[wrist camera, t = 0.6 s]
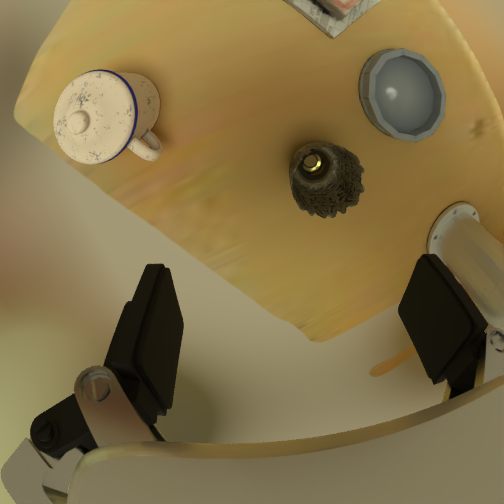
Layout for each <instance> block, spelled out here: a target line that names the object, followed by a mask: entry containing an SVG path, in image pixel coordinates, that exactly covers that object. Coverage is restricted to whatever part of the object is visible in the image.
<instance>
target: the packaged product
mask: <svg viewBox="0 0 504 504" xmlns="http://www.w3.org/2000/svg"><path fill="white" fill-rule="evenodd" d="M283 1H284V2H286V3H287V4H289V5H290V6H291V7H293V8H294V9H295V10H297V11H298V12H299V13H301V14H302V15H303V16H304V17H306V18H307V19H308V20H310V21H311V22H312V23H313V24H315V25H316V26H317V27H318V28H320V29H321V30H322V31H323V32H324V33H325V34H327V35H328V36H329V37H331V38H335V37H336V36H338V35H339V34H340V33H341V32H343V31H344V30H345V29H346V28H347V27H348V26H349V25H351V24H352V23H353V22H354V21H356V20H357V19H358V18H360V17H361V16H362V15H363V14H365V13H366V12H367V11H368V10H370V9H371V8H372V7H373V6H374V5H376V4H377V3H378V2H379V1H381V0H283Z"/></svg>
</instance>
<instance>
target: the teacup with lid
mask: <svg viewBox="0 0 504 504" xmlns="http://www.w3.org/2000/svg"><path fill="white" fill-rule="evenodd" d="M159 111H160V98H159V94H158V91H157V89H156V87H155V86H154V84H153V83H152V82H151V81H150V80H149V79H148V78H146V77H144V76H142V75H140V74H136V73H123V72H112V71H109V70H93V71H89V72H86V73H84V74H82V75H80V76H78V77H77V78H76V79H74V80H73V81H72V82H71V83H70V84H69V85H68V86H67V87H66V88H65V89H64V91H63V92H62V94H61V96H60V98H59V100H58V102H57V105H56V108H55V113H54V131H55V135H56V138H57V141H58V143H59V145H60V147H61V148H62V150H63V151H64V152H65V153H66V154H67V155H68V156H69V157H71V158H72V159H74V160H76V161H78V162H80V163H84V164H101V163H105V162H107V161H110V160H111V159H113V158H115V157H116V156H118V155H119V154H120V153H121V152H122V151H123V150H124V149H125V148H126V147H128V148H129V149H130V150H131V151H132V152H134V153H135V154H136V155H138V156H139V157H141V158H143V159H145V160H148V161H155V160H156V159H158V157H159V156H160V155H161V154H162V145H161V143H160V141H159V139H158V138H157V137H156V136H155V135H154V134H153V133H152V132H151V131H150V130H151V128H152V127H153V126H154V124H155V122H156V120H157V118H158V115H159ZM140 138H142V139H143V140H144V141H145V142H146V143H147V144H148V145H149V146H150V148H149V147H147V146H146V145H145V144H143V143H142V142H141V141H140V140H139V139H140Z"/></svg>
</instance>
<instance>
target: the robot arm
mask: <svg viewBox="0 0 504 504" xmlns="http://www.w3.org/2000/svg"><path fill="white" fill-rule="evenodd" d="M427 251H428V254H423V255H422V256H421V257H420V258H419V259H418V261H417V263H416V266H415V268H414V271H413V274H412V276H411V279H410V281H409V284H408V286H407V288H406V291H405V293H404V295H403V298H402V300H401V302H400V304H399V307H398V313H399V316H400V318H401V320H402V322H403V324H404V326H405V328H406V330H407V332H408V334H409V336H410V338H411V340H412V342H413V344H414V346H415V348H416V351H417V353H418V355H419V357H420V359H421V361H422V363H423V366H424V368H425V371H426V373H427V375H428V377H429V378H431V379H432V382H433V384H434V385H435V384H437V383H440V382H442V381H444V380H445V379H447V381H448V382H447V386H446V390H445V394H444V398H443V401H442V403H440V404H438V405H435V406H432V407H430V408H427V409H424V410H421V411H419V412H416V413H413V414H410V415H407V416H404V417H401V418H397V419H394V420H391V421H388V422H384V423H380V424H377V425H373V426H369V427H364V428H360V429H356V430H351V431H347V432H342V433H336V434H331V435H325V436H319V437H313V438H305V439H297V440H288V441H277V442H263V443H238V444H208V443H181V442H167V441H166V440H165V438H164V437H163V436H162V434H161V433H160V431H159V430H158V429H157V427H156V426H155V425H154V424H155V423H156V421H157V415H162V416H166V412H167V409H171V407H172V403H173V395H174V388H175V380H176V373H177V367H178V359H179V353H180V347H181V341H182V335H183V328H184V323H183V318H182V315H181V311H180V307H179V303H178V300H177V296H176V292H175V288H174V284H173V280H172V276H171V272H170V269H169V268H165V266H164V264H147V265H146V267H145V269H144V272H143V274H142V277H141V279H140V282H139V284H138V286H137V289H136V291H135V294H134V297H133V299H132V301H128V302H127V303H126V304H125V306H124V309H123V311H122V314H121V316H120V319H119V322H118V324H117V327H116V330H115V333H114V335H113V338H112V341H111V344H110V347H109V350H108V353H107V356H106V359H105V362H104V365H103V366H100V365H99V366H91V367H89V368H86V369H85V370H84V371H82V372H81V373H80V374H79V376H78V377H77V379H76V381H75V385H74V392H75V393H74V394H72V395H71V396H69V397H67V398H66V399H64V400H62V401H61V402H59V403H58V404H56V405H54V406H53V407H51V408H50V409H48V410H46V411H45V412H43V413H41V414H40V415H38V416H37V417H36V418H35V419H34V421H33V422H32V425H31V429H30V436H31V438H30V439H28V438H25V439H24V441H23V442H22V443H21V444H20V445H19V447H18V448H17V449H16V450H15V452H14V453H13V454H12V455H11V457H10V458H9V459H8V460H7V462H6V463H5V464H4V465H3V468H2V470H1V478H2V482H3V484H4V486H5V488H6V489H7V491H8V492H9V494H10V495H11V497H12V498H13V500H14V501H15V502H16V504H504V331H502V330H504V246H503V245H502V244H501V243H500V242H499V241H498V240H497V239H496V238H495V237H494V236H493V235H492V234H491V233H490V232H489V231H488V230H487V229H486V228H485V227H483V226H482V225H481V224H480V222H479V215H478V212H477V210H476V209H475V208H474V207H473V206H472V205H470V204H469V203H466V202H459V203H455V204H453V205H452V206H450V207H449V208H447V209H446V210H445V211H444V212H443V213H442V214H441V215H440V216H439V217H438V219H437V220H436V222H435V223H434V225H433V227H432V229H431V232H430V234H429V238H428V243H427ZM446 266H448V267H449V269H450V270H451V271H452V273H453V274H452V273H451V272H450V270H449V269H448V268H447V267H446ZM460 283H461V284H462V285H463V287H464V288H465V289H466V291H467V292H468V293H469V295H470V296H471V297H472V299H473V300H474V302H475V303H476V304H477V306H478V307H479V309H480V310H481V312H482V313H483V315H484V316H485V317H486V319H487V320H488V322H489V323H490V324H491V325H492V326H493V327H495V328H490V329H489V330H488V332H487V333H485V332H484V330H485V329H486V327H487V326H488V323H487V322H486V320H485V319H484V317H483V316H482V314H481V313H480V311H479V310H478V308H477V307H476V305H475V304H474V302H473V301H472V300H471V298H470V297H469V295H468V294H467V293H466V291H465V290H464V289H463V287H462V286H461V285H460ZM69 484H70V486H69ZM68 486H69V492H68V494H67V490H68Z"/></svg>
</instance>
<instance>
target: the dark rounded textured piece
mask: <svg viewBox="0 0 504 504" xmlns="http://www.w3.org/2000/svg"><path fill="white" fill-rule="evenodd" d="M309 155H314V156H315V157H316V158H317V164H316V165H315V166H314V167H307V166H306V165H305V164H304V160H305V159H306V157H308V156H309ZM361 173H364V169H363V167H362V166H361V165H360V161H359V159H358V158H357V156H355V155H354V154H353V153H351V152H349V151H348V150H346V149H345V148H343V147H339V146H336V145H333V144H330V143H326V142H312V143H308V144H306V145H304V146H302V147H301V148H299V149H298V150H297V151H296V153H295V154H294V155H293V157H292V159H291V162H290V166H289V177H290V184H291V189H292V194H293V197H294V200H296V202H297V204H298V206H299V208H300V209H301V210H307V211H308V213H309V214H310V215H311V216H313V215H315V213H316V214H317V215H318V216H321V217H322V218H326V216H328V217H331V218H334V217H335V216H336V214H337V211H339V212H341V213H342V214H345V213H346V207H349V206H350V207H352V206H355V205H357V203H358V201H359V195H360V193H363V192H364V186H363V185H362V184H361V179H362V176H361Z"/></svg>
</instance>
